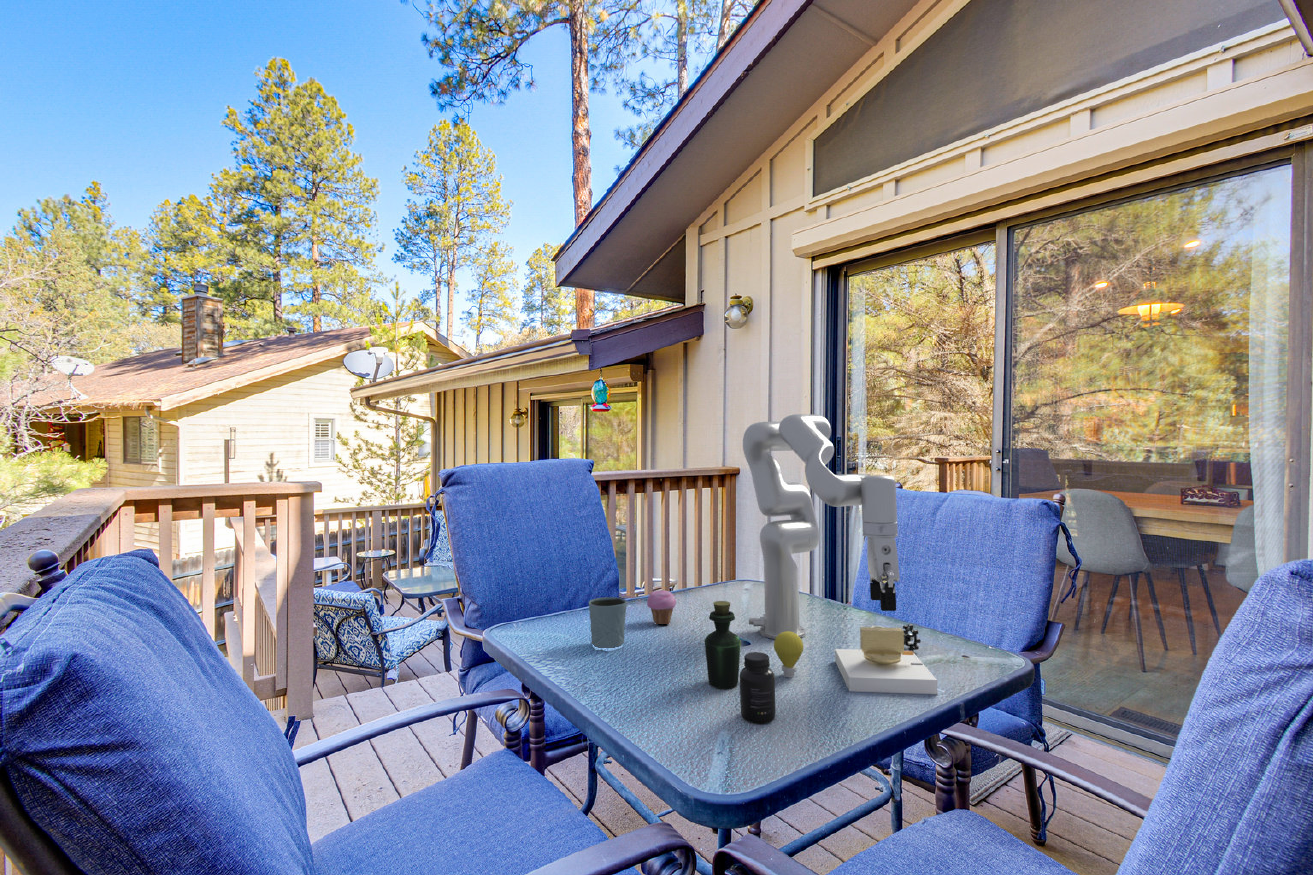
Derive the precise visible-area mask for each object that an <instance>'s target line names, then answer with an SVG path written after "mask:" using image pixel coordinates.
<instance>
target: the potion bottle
mask: <svg viewBox="0 0 1313 875" xmlns="http://www.w3.org/2000/svg"><path fill="white" fill-rule="evenodd" d="M712 604H713V607H714V610H713V611H711V612H710V613H709V616H708V619H709V620H710V621H713V624H714V628H715V630H714V631H712V632H710V633H709V634H707V635H706V637H705V639H704V641H703V642H704V650H705V658H706V659H705V661H706V670H707V680H708V684H709V685H710V686H711V687H712V688H716V689H720V690H728V689H734V688H735V687H737V685H738V683H739V678H740V660H741V646H742V644H741V643H742V642H741V639H740V637H739V636H738V635H737V634H736V633H734V632H732V631H731V630H730V626H731V622H733V621H735V620H736V615H735V614H734V612H733V611H730V608H731V602H730V601H726V600H716V601H713V603H712Z"/></svg>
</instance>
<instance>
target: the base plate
mask: <svg viewBox="0 0 1313 875" xmlns="http://www.w3.org/2000/svg"><path fill="white" fill-rule="evenodd" d="M834 653H835V655H834V658H835V659H834V660H835V661H834V662H835V663H836V666H837V667H838V670H839V672H840V675H841V676H842V679H843V681H844V683H845V685H846V686H847V689H848V691H849V692H856V693H858V692H859V693H860V692H862V693H863V692H864V693H865V692H866V693H886V694H889V693H891V694H915V695H916V694H917V695H918V694H923V695H938V679H937V678H936V677H935V676H934V675H933V673H932V672H931V671H930V670H929V669H928V667H927V666H926V665H925V664H924V663H923V662H922V661H921V659H920V658H918V656H917V655H916V654H915V652H913V655H902V654H901V661H900V662H898V663H895V664H878V663H875V662H872V661H869V660H867V659H865V658H864V652H862V650H861V649H856V648H854V649H852V648H851V649H850V648H849V649H848V648H847V649H846V648H834Z"/></svg>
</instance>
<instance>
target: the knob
mask: <svg viewBox="0 0 1313 875" xmlns="http://www.w3.org/2000/svg"><path fill="white" fill-rule="evenodd" d="M859 633H860V634H859V636H860V637H859V640H860V650H862V652H864V658H865V659H867V660H869V661H872V662H875V663H878V664H895V663H898V662H900V661H901V654H902V655H913V653H914V650H911V651H910V650H905V645H904V629H903V628H902V627H884V626H881V627H872V626H870V627H869V626H859Z"/></svg>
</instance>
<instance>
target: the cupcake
mask: <svg viewBox="0 0 1313 875" xmlns="http://www.w3.org/2000/svg"><path fill="white" fill-rule="evenodd" d="M676 604H677V601H676V597H675V595H674V594H673V593H672V592H670V591H668V590H662V589H659V590H655V591H652V592H651V593H650V594H649V596H648V597H647V603H646V606H647V607H648V608H649V609H650V611H651V615H652V620H653V624H655V623H656V624H655V625H657V624H669V623H670V624H671V619H672V616H673V611H674V608H675V607H676ZM670 624H669V625H670Z"/></svg>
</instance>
